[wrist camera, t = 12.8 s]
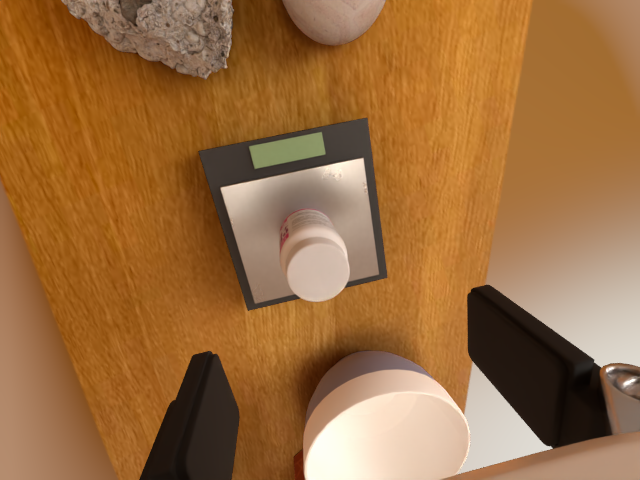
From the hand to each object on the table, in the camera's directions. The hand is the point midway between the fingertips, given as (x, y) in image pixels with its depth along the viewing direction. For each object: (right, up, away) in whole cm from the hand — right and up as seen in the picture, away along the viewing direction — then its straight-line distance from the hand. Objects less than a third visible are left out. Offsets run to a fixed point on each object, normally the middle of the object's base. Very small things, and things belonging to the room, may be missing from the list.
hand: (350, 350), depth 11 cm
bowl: (+4, -13, +26) cm, 29 cm away
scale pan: (-2, +5, +16) cm, 17 cm away
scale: (-3, +6, +18) cm, 20 cm away
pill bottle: (-2, +5, +16) cm, 17 cm away
